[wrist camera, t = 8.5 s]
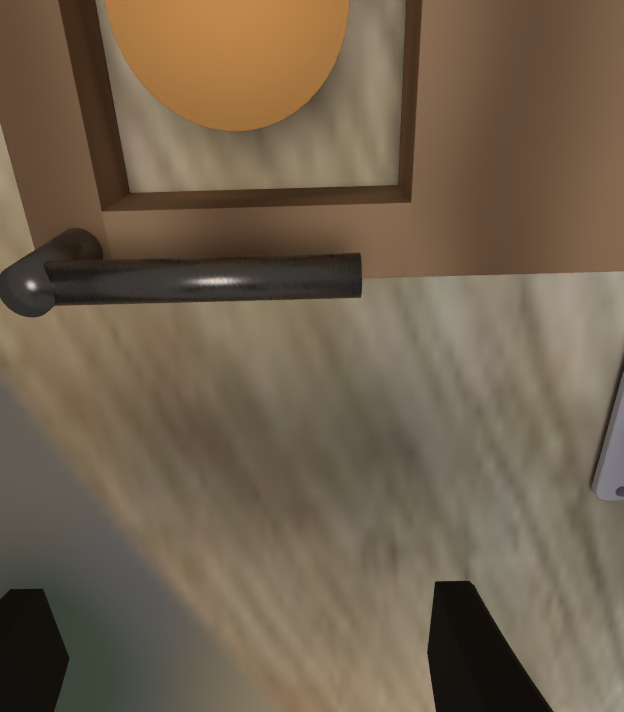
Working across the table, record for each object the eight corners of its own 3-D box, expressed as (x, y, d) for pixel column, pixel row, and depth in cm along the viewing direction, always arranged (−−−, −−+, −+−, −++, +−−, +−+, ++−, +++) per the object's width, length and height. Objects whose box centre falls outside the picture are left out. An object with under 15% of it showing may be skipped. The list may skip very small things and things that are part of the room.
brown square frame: (708, -318, 11) (799, -407, 9) (588, 245, 17) (627, 271, 15) (-51, -286, 12) (-133, -365, 9) (78, 259, 17) (45, 286, 15)
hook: (347, 200, 16) (361, 256, 11) (347, 239, 17) (361, 308, 12) (85, 207, 16) (-11, 265, 12) (94, 246, 17) (5, 317, 12)
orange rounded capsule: (347, -79, 13) (364, -149, 9) (329, 118, 15) (336, 140, 11) (165, -98, 13) (89, -179, 9) (172, 103, 15) (114, 121, 11)
